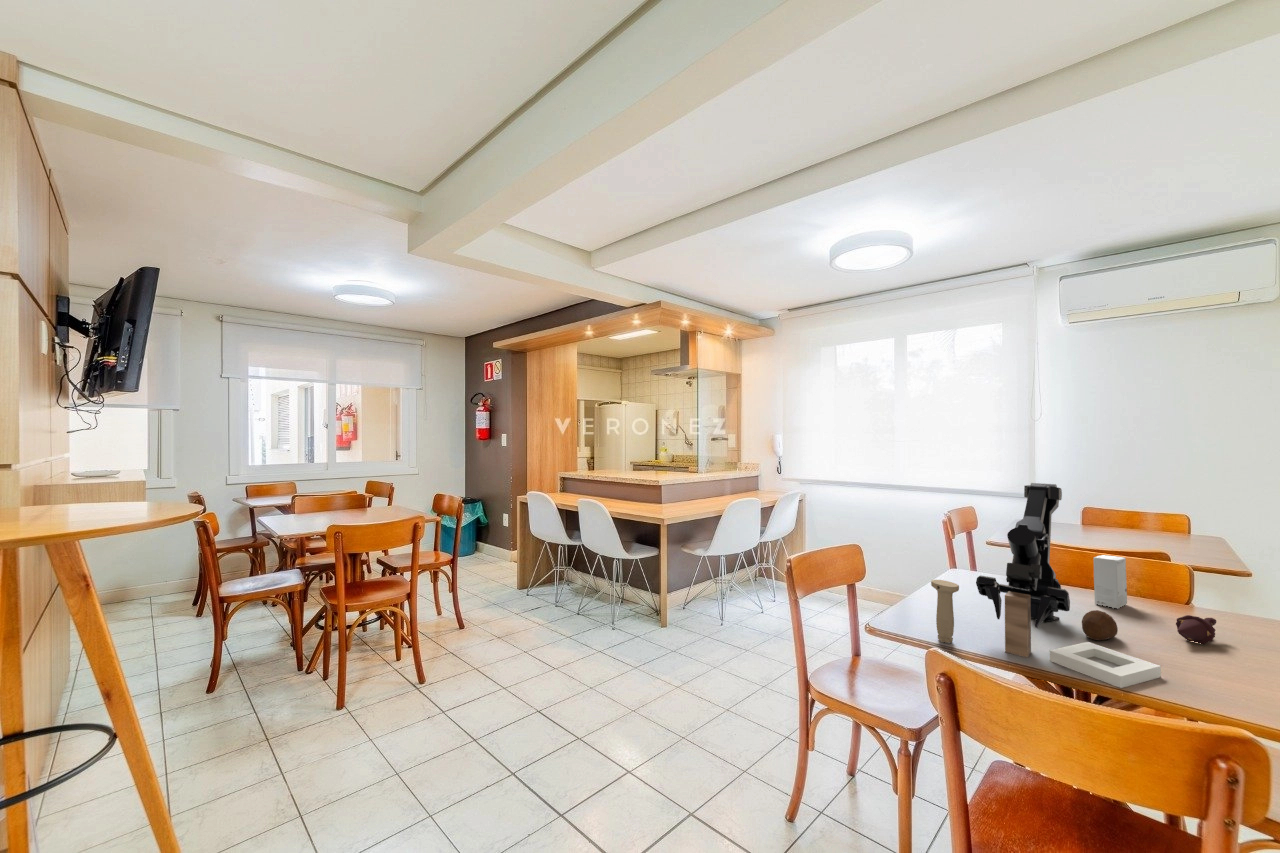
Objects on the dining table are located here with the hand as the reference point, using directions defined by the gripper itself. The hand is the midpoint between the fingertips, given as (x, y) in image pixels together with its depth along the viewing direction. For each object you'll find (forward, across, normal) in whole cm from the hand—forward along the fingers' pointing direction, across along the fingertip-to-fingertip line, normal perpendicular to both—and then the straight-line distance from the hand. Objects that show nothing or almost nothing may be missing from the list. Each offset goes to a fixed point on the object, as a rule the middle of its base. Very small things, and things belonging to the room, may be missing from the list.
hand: (1016, 622), depth 128 cm
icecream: (-23, +31, +34) cm, 52 cm away
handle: (+8, -15, +3) cm, 17 cm away
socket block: (+2, +16, +8) cm, 18 cm away
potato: (-14, +13, +25) cm, 31 cm away
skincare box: (-39, +14, +50) cm, 65 cm away
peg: (+4, 0, +6) cm, 8 cm away
